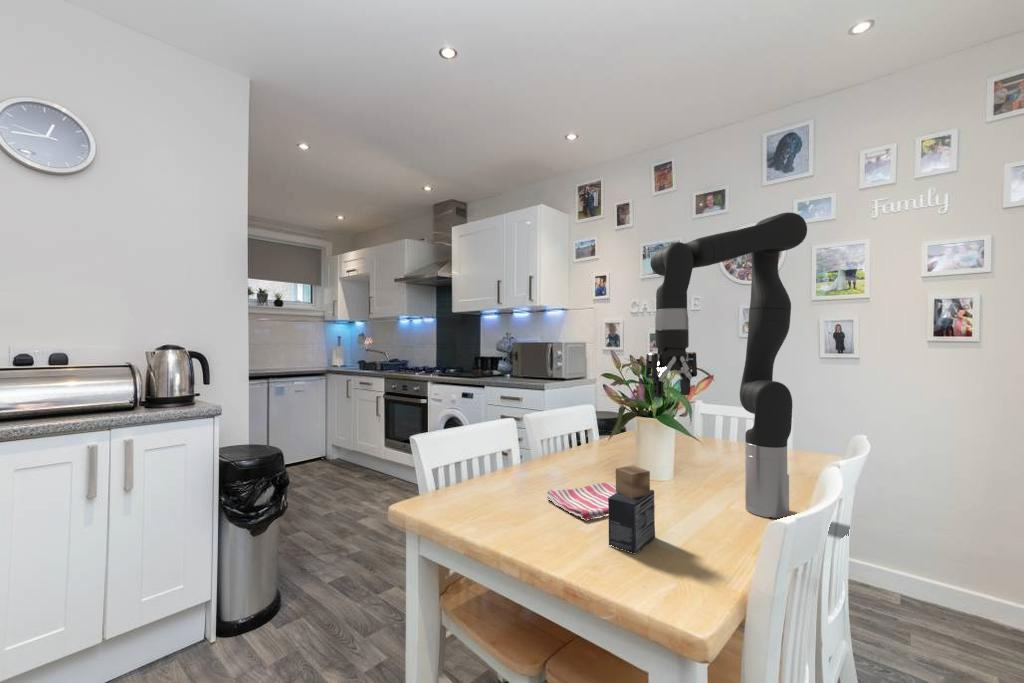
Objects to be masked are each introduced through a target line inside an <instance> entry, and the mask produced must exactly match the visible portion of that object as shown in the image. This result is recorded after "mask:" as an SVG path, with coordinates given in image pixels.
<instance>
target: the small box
mask: <svg viewBox="0 0 1024 683" xmlns="http://www.w3.org/2000/svg"><path fill="white" fill-rule="evenodd" d="M608 511H609V516H608V546H609V545H612V546H614V547H617V548H619V549H623V550H626V551H629V552H632V553H637V552H638V551H639V550H640V551H642V550H643V549H644V548H645V547H646V546H647V545H649V544H650V543H651V542H652V541H653V540H654V539H655V538H656V529H655V528H656V527H655V526H656V525H655V490H653V489H650V495H647V496H642V497H637V498H630V497H627V496H625V495H623V494H620V493H618V492H617V493H616V494H614V495H612V496H610V497H609V498H608ZM651 540H652V541H651ZM646 544H647V545H646ZM645 545H646V546H645ZM644 546H645V547H644ZM643 547H644V548H643ZM642 548H643V549H642ZM619 549H618V550H619ZM640 551H639V552H640ZM629 552H628V553H629ZM639 552H638V553H639ZM632 553H631V554H632ZM638 553H637V554H638Z"/></svg>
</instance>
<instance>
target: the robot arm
mask: <svg viewBox="0 0 1024 683" xmlns="http://www.w3.org/2000/svg"><path fill="white" fill-rule="evenodd" d="M807 234H808V226H807V222H806V220H805V219H804V217H803V216H801V214H798V213H795V212H789V211H788V212H782V213H778V214H775V215H773V216H770V217H767V218H765V219H762V220H760V221H758V222H757V223H756V224H755V225H753V226H750V227H749V226H748V227H745V228H744V227H743V228H739V229H735V230H730V231H725V232H720V233H716V234H711V235H707V236H702V237H699V238H696V239H693V240H691V241H689V242H685V243H684V242H680V241H677V242H673V243H671V244H668V245H666V246H663V247H661V248H658V249H657V250H656V251H655V252H654V253H653V254H652V256H651V258H650V267H651V270H652V271H653V272H654V274H656V275H659V276H662V277H663V282H662V284H661V285H659V287H657V289H656V291H655V292H656V293H655V304H656V305H655V310H656V311H655V316H654V317H655V318H654V324H655V326H654V330H655V332H654V334H655V335H654V336H655V338H654V340H655V341H654V344H655V345H654V346H655V348H657V351H656V352H648V353H646V357H645V358H646V361H645V362H646V363H645V378H646V379H649V380H652V382H653V383H652V385H653V387H652V389H653V390H652V392H653V395H654V397H655V398H660V399H661V398H664V381H663V380H664V379H665V377H666V375H667V374H669V372H673V371H675V372H676V373H677V374H678V375H679V377H680V380H679V381H680V384H679V385H680V386H679V387H680V395H681V396H690V393H691V380H692V378H694V377H695V378H696V377H697V376H698V366H697V362H698V361H697V353H696V352H694V351H692V352H691V351H689V352H688V351H686V349H688V348H689V346H690V343H689V342H690V341H689V339H690V338H689V336H690V334H689V333H690V332H689V328H690V326H689V314H688V313H689V312H688V289H689V285H690V283H691V277H692V272H693V269H696V268H702V267H709V266H711V265H716V264H719V263H723V262H726V261H727V262H728V261H730V260H733V259H735V258H739V257H743V256H746V255H749V254H751V283H750V284H751V285H750V286H751V288H750V302H749V309H748V310H749V311H748V323H747V324H748V325H747V329H748V331H747V341H746V352H745V362H744V367H743V373H742V376H741V382H740V387H739V401H740V404H741V406H742V408H744V410H745V411H746V412H749V413H751V414H753V415H754V418H753V419H754V420H753V426H752V427H751V428H749V429H746V431H745V434H744V435H745V436H744V437H745V439H744V440H745V443H744V445H745V447H744V448H745V451H744V452H745V454H744V455H745V458H744V461H745V462H744V464H745V480H744V481H745V483H744V484H745V497H744V498H745V509H746V511H748V512H749V513H751V514H753V515H756V516H759V517H764V518H769V517H772V518H771V519H782V518H781V517H784V518H786V517H788V513H790V475H789V473H788V440H789V438H790V435H791V432H792V424H793V423H792V422H793V421H792V420H793V397H792V394H791V391H790V389H789V387H787V386H786V385H785V384H784V383H782V382H780V381H774V380H773V379H774V378H773V375H774V374H773V373H774V365H775V360H776V357H777V355H778V354H779V351H780V349H781V347H782V346H783V343H785V340H786V338H787V337H788V333H789V331H790V325H791V312H792V302H791V299H790V296H789V294H788V291H787V290H786V288H785V286H784V285H783V282H782V280H781V278H780V274H779V257H780V252H784V251H785V252H786V251H790V250H792V249H794V248H796V247H798V246H800V245H801V244H802V243H803V242H804V240H805V239H806V238H807ZM785 516H786V517H785Z"/></svg>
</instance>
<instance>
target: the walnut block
mask: <svg viewBox="0 0 1024 683" xmlns="http://www.w3.org/2000/svg"><path fill="white" fill-rule="evenodd" d="M650 475H651V471H650V470H648V469H645V468H641V467H638V466H636V465H628V466H623V467H617V468H615V486H616V492H618V493H620V494H623V495H625V496H627V497H630V498H637V497H642V496H647V495H650V490H651V484H650V483H651V480H650V479H651V478H650V477H651V476H650Z"/></svg>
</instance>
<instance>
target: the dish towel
mask: <svg viewBox="0 0 1024 683" xmlns="http://www.w3.org/2000/svg"><path fill="white" fill-rule="evenodd" d="M616 493H617V492H616V485H614V484H613V483H610V482H597V483H593V484H589V485H586V486H583V487H582V486H581V487H575V488H572V489H568V488H564V489H555V490H553V489H548V491H547V492H546V499H547V498H548V499H550V500H551V501H552V502H553V503H555V504H557V505H558V506H560V507H561V508H563V509H565V510H567V511H569V514H570V513H573V514H574V515H573V514H572V515H573V516H575V515H576V516H575V517H578V516H579V517H582V518H584V519H585V520H587V519H590V520H592V519H591V518H595V517H600V516H604V515H606V514H609V511H608V498H609V497H610V496H612V495H614V494H616ZM548 499H547V500H548ZM576 499H577V500H579V501H576ZM571 500H574V502H573V501H571ZM552 502H551V503H552ZM553 503H552V504H553ZM561 508H560V509H561ZM563 509H562V510H563ZM565 510H564V511H565ZM579 517H578V518H579ZM585 520H584V521H585Z"/></svg>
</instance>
